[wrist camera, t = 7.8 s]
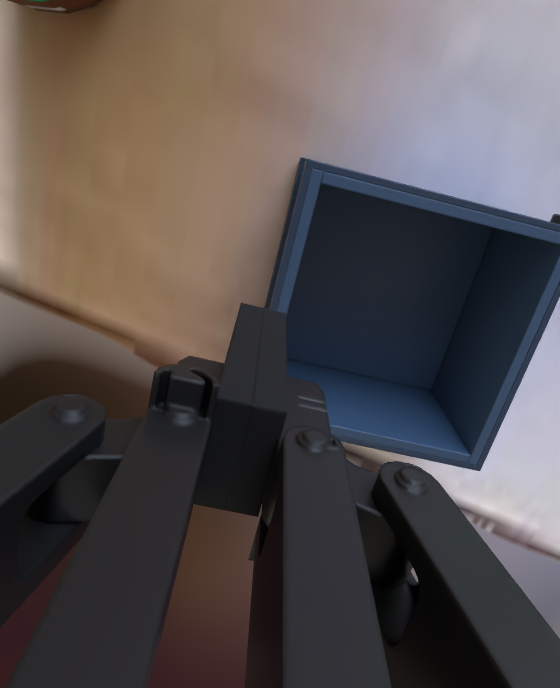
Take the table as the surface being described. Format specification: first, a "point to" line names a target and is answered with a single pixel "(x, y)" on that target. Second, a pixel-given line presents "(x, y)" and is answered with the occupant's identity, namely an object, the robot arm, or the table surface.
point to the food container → (58, 5)
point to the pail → (411, 309)
